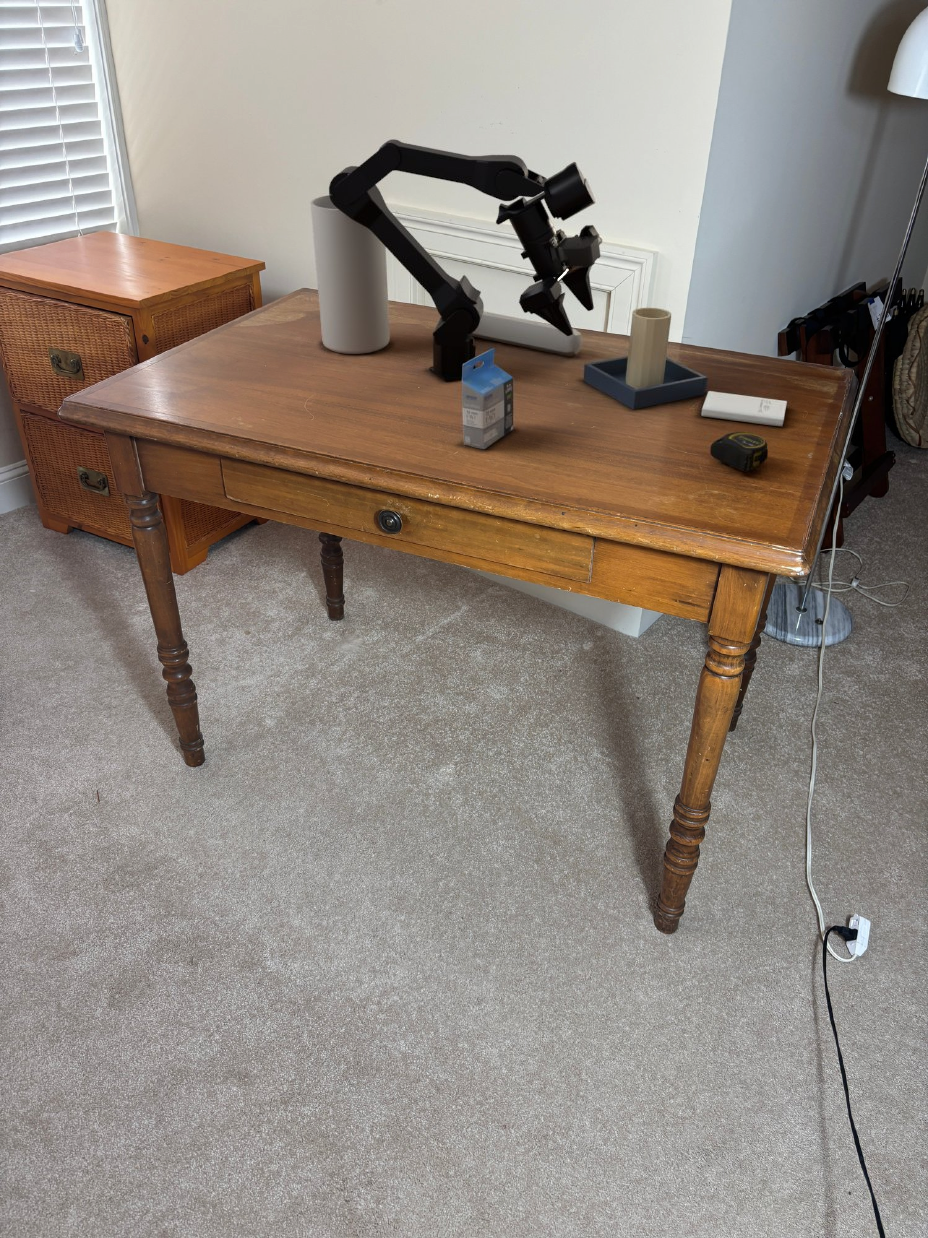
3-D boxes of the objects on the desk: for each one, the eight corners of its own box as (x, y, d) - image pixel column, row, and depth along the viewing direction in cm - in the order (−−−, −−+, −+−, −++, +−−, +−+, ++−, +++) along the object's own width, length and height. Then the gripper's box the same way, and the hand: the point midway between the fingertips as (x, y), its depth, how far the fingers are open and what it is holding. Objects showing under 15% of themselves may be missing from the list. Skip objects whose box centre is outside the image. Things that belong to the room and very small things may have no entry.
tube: (589, 330, 178) (471, 307, 189) (578, 328, 174) (458, 304, 184) (583, 360, 180) (466, 335, 191) (571, 358, 176) (453, 333, 186)
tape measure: (705, 461, 141) (709, 437, 139) (738, 450, 144) (742, 426, 142) (741, 478, 136) (745, 453, 134) (775, 466, 140) (779, 442, 138)
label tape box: (484, 450, 144) (485, 368, 137) (460, 444, 146) (461, 363, 139) (514, 430, 150) (516, 351, 143) (491, 424, 152) (492, 346, 145)
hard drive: (707, 399, 161) (785, 408, 158) (700, 417, 155) (782, 427, 151) (708, 389, 160) (787, 399, 157) (702, 407, 154) (784, 417, 151)
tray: (633, 409, 157) (635, 391, 156) (583, 380, 168) (584, 363, 166) (705, 394, 163) (707, 376, 161) (652, 367, 174) (654, 350, 172)
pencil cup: (653, 393, 162) (662, 321, 155) (619, 386, 165) (626, 314, 158) (668, 382, 166) (677, 311, 159) (634, 375, 169) (642, 305, 162)
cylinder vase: (382, 356, 178) (375, 210, 163) (315, 353, 179) (302, 208, 165) (395, 333, 188) (389, 194, 173) (331, 330, 189) (320, 192, 175)
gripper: (555, 240, 145) (601, 333, 152) (601, 193, 157) (641, 281, 164) (497, 266, 153) (544, 354, 159) (545, 219, 164) (586, 303, 171)
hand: (581, 322), depth 163 cm, fingers open, 9 cm apart
